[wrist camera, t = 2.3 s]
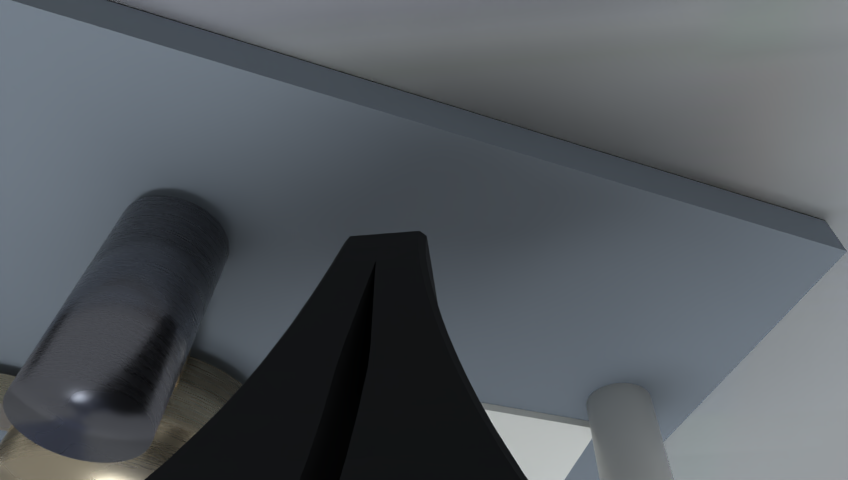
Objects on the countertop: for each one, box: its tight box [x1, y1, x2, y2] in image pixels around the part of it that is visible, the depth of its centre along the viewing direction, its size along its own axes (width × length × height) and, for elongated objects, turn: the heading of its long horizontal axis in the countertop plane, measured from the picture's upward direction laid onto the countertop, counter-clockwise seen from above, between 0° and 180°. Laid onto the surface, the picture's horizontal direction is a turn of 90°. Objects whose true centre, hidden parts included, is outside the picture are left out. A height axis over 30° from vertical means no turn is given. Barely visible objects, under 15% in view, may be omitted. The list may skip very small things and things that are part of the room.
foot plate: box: [0, 0, 847, 480], centre depth 18 cm, size 21×24×1 cm
